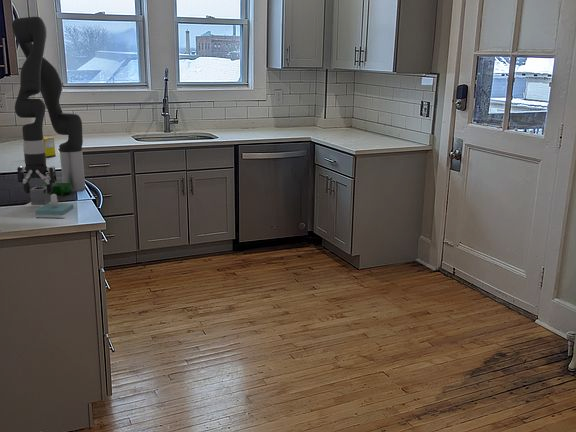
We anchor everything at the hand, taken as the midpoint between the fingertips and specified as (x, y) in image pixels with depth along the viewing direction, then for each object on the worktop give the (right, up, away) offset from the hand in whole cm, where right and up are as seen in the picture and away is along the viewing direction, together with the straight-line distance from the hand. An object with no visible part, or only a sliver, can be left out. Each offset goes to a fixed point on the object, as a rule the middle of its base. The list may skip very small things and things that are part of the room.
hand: (38, 193), depth 232 cm
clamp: (+1, -2, +16) cm, 16 cm away
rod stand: (0, -5, +2) cm, 6 cm away
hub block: (+10, -8, -10) cm, 17 cm away
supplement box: (-42, +25, +113) cm, 123 cm away
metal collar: (0, -4, +1) cm, 4 cm away
